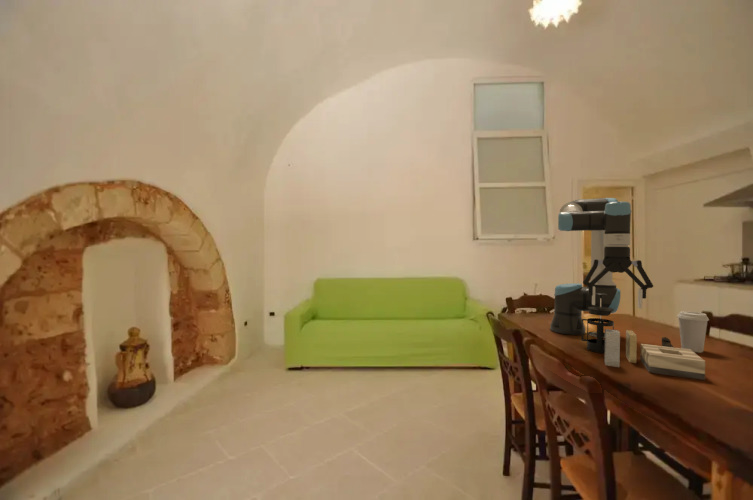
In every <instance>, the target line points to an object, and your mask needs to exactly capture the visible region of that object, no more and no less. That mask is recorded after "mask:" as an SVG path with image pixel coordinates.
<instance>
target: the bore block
mask: <svg viewBox="0 0 753 500" xmlns="http://www.w3.org/2000/svg"><path fill="white" fill-rule="evenodd" d="M639 356H640V361H641V363H642V364H643V366H644V367H645V369H646V371H648V373H652V374H658V375H659V374H660V375H666V376H672V377H680V378H687V379H694V380H700V381H706V360H705V359H703V358H702V357H700V356H699V355H698V354H697V352H693V351H692V350H691V349H683V348H681V347H675V348H674V346H673V347H665V346H662V345H655V344H647V343H646V344H645V343H640V355H639Z"/></svg>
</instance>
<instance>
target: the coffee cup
mask: <svg viewBox="0 0 753 500" xmlns="http://www.w3.org/2000/svg"><path fill="white" fill-rule="evenodd" d="M676 317H677V318H678V327H679V336H680V348H683V349H691V350H692V351H693V352H694V353H699V354H700V353H704V348H705V341H706V340H705V339H706V333H707V327H708V321H710V319H709V317H708V316H707V314H706V313H704V312H697V311H688V310H687V311H686V310H685V311H684V310H683V311H679V313H678V314H677V316H676Z"/></svg>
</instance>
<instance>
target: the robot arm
mask: <svg viewBox="0 0 753 500" xmlns="http://www.w3.org/2000/svg"><path fill="white" fill-rule="evenodd" d="M631 205H632V204H631V203H630V202H628V201H618V199H617V198H615V197H599V198H581V199H579V198H578V199H575V200H571V201H569V202H567V203H565V204H563V205H562V206H561V207H560V209H559V213H558V216H557V217H558V218H557V222H558V223H557V224H558V225H557V227H558V228H557V229H558V230H559V232H562V231H563V232H573V231H575V232H578V231H579V232H582V231H585V232H586V231H588V232H589V231H590V232H591V233H590V235H591V236H590V270H589V271H588V273H587V274H586V276H585V277H584V279H583V281H582V283H577V282H576V283H573V282H572V283H562V284H558V285H556V286H555V288H554V315H553V317H552V319H551V323H550V327H549V328H550V331H552V332H554V333H558V334H564V335H570V336H571V335H572V336H573V335H574V336H582V319H583V318H582V312H588V313H589V309H588V307H596V306H597V307H600V298H599V295H596V294H595V293H604V294H607V295H602V298H601V307H606V308H611V309H614V311H612V312H611V314H615V313H616V312H617V311H618V310H619V306H620V303H621V302H620V301H621V289H620V288H618V287H617V284H616V283H615V282H614V280H613V274H614V273H622V274H623V273H626V274H627V275H628V276H629V277H630V278H631V280H632V281H634V282H635V283H636V284H637V285H638V286H639V287H640V288H637V308H638V309H640V310H641V309H643V299H644V300H645V299H646V298H647V289H652V288H654V285H653V282H652V281H651V280H650V278H649V275H648V274H647V273H646V271H645V269H644V267H643V264H642V260H639V259H637V260H631V247H630V246H631V223H632V222H631V220H632V219H631V216H632V210H631ZM632 265H633V267H635V268H636V269H637V271H638V272H639V274H640V276H641V278H642V279H643V281H644V282H645V284H644V283H643V281H642V280H641V279H639V278H638V276H636V275H635V274H634V273H633V271H631V269H630V267H631V266H632ZM582 284H583V285H585V286H583V285H582ZM586 331H587V328H586V325H585V322H583V335H585V334H586Z"/></svg>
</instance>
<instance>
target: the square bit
mask: <svg viewBox="0 0 753 500" xmlns="http://www.w3.org/2000/svg"><path fill="white" fill-rule="evenodd" d="M604 333H605V338H604V340H605V354H604V356H603V357H604V359H603V360H604V365H605V366H607V367H615V368H620V366H621V365H620V360H621V359H620V358H621V357H620V356H621V355H620V353H621V352H620V351H621V349H620V348H621V347H620V346H621V331H619V330H617V329H614V330H613V329H608V328H604Z"/></svg>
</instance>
